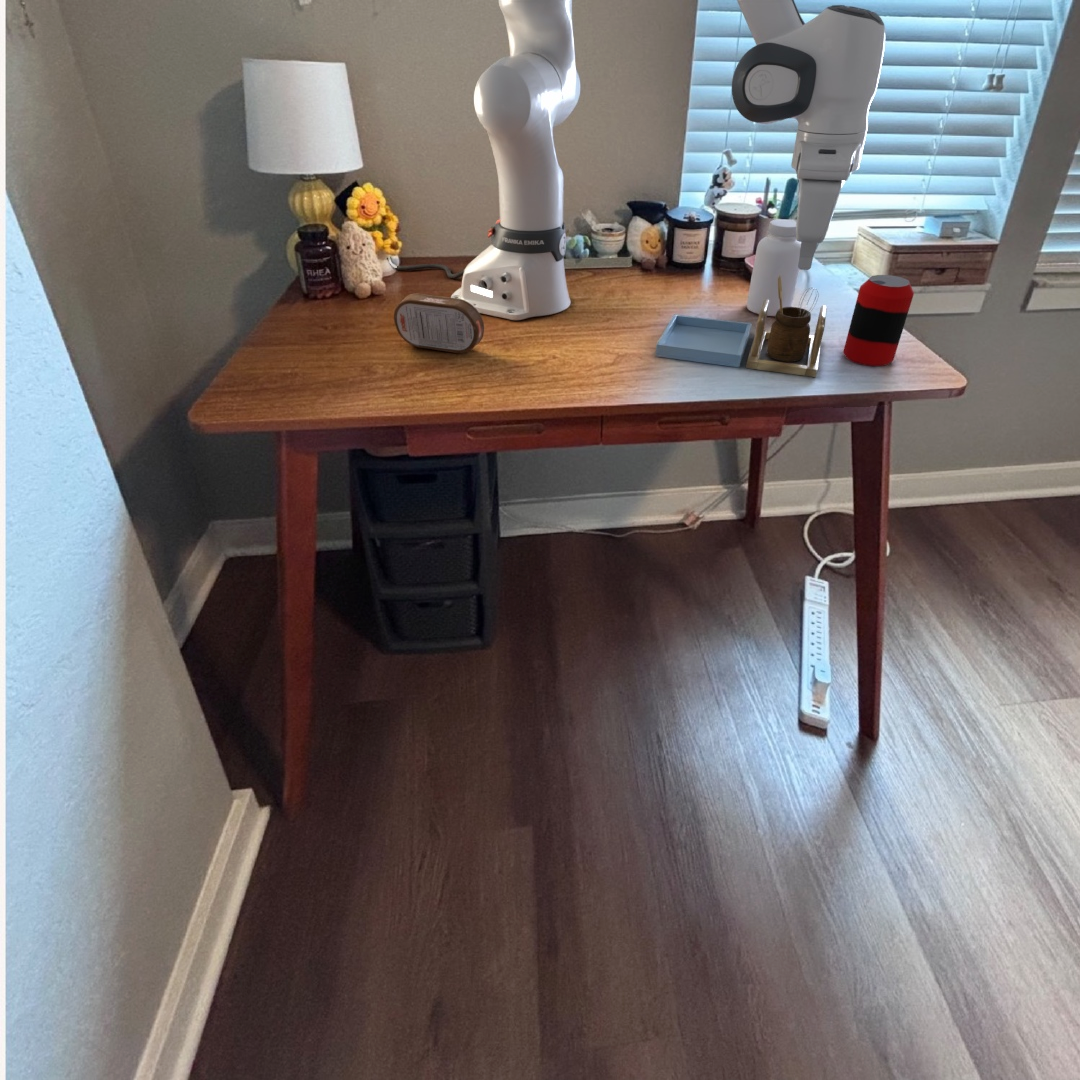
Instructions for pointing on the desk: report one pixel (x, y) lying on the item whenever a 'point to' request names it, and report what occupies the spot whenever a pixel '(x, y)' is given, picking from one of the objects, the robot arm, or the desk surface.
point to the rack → (782, 367)
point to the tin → (439, 323)
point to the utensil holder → (789, 331)
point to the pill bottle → (775, 267)
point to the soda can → (878, 320)
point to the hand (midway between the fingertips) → (805, 259)
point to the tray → (704, 340)
